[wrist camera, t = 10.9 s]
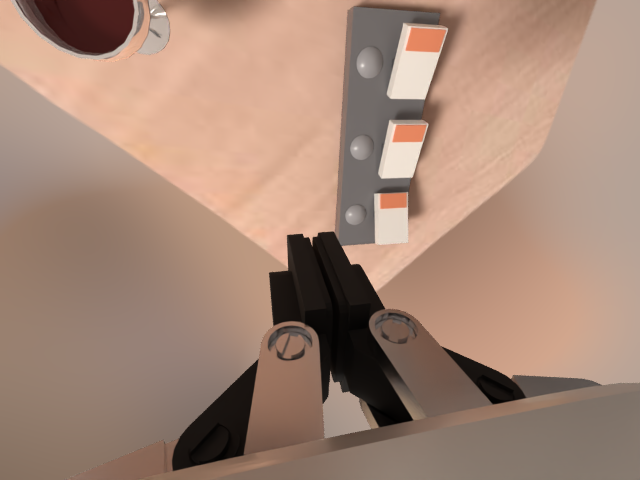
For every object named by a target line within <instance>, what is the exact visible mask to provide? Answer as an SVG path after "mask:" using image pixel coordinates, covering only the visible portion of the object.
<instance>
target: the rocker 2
mask: <svg viewBox="0 0 640 480" xmlns="http://www.w3.org/2000/svg"><path fill="white" fill-rule="evenodd" d="M447 31H448V28H446V27H445V26H443V25H429V24H415V23H403V28H402V32H401V36H400V40H399V44H398V48H397V53H396V57H395V61H394V65H393V69H392V74H391V78H390V82H389V86H388V90H387V95H388V97H389V98H390V99H425V98H426V95H427V92H428V89H429V86H430V83H431V80H432V77H433V74H434V71H435V68H436V65H437V62H438V59H439V56H440V53H441V50H442V47H443V44H444V41H445V38H446V34H447Z"/></svg>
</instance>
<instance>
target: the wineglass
mask: <svg viewBox="0 0 640 480" xmlns="http://www.w3.org/2000/svg"><path fill="white" fill-rule="evenodd" d="M11 2H12V3H13V5H14V7H15V8H16V10H17V12H18V13H19V15H20V17H21V18H22V19H23V20H24V21H25V22H26V23H27V24H28V25H29V26H30V27H31V28H32V30H33V31H34V32H35V33H36V34H37V35H38V36H39V37H41V38H42V39H44V40H45V41H46V42H48V43H49V44H51V45H52V46H54V47H55V48H57V49H58V50H60V51H63V52H65V53H68V54H70V55H73V56H75V57H78V58H84V59H91V60H95V61H105V62H114V61H118V60H122V59H126V58H128V57H130V56H132V55H133V54H134V53H135V52H137V53H140V54H147V55H151V54H155V53H158V52H159V51H161V50H162V49H163V48H164V47H165V45H166V44H167V42H168V40H169V34H170V27H169V21H168V18H167V16H166V13H165V11H164V9H163V8H162V6H161V5H160V4H159V2H158V1H157V0H11Z"/></svg>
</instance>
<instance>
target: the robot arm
mask: <svg viewBox="0 0 640 480" xmlns="http://www.w3.org/2000/svg"><path fill="white" fill-rule="evenodd" d="M287 248H288V271H281V272H270V273H269V277H270V290H271V302H272V315H273V325H274V326H273V327H272V328H271V329H269V330H268V331H267V333H266V334H265V335H264V337H263V340H262V342H261V348H260V354H259V359H258V360H257V361H256V362H255V363H254V364H253V365H252V366H251V367H250V368H249V369H247V370H246V371H245V372H244V373H243V374H242V375H241V376H240V377H239V378H238V379H237V380H236V381H235V382H234V383H233V384H232V385H231V386H230V387H229V388H228V389H227V390H226V391H225V392H224V393H223V394H222V395H221V396H220V397H219V398H218V399H216V400H215V401H214V402H213V403H212V404H211V405H210V406H209V407H208V408H207V409H206V410H205V411H204V412H203V413H202V414H201V415H200V416H199V417H198V418H197V419H196V420H195V421H194V422H193V423H192V424H191V425H190V426H189V427H188V428H187V429H186V430H185V431H184V433H183V434H182V435H181V436H180V438H178V439H176V440H174V441H171V442H169V443H166V444H165V441H164V440H161V441H159V442H156V443H154V444H151V445H149V446H146V447H144V448H141V449H139V450H136V451H134V452H132V453H129V454H126V455H124V456H121V457H119V458H116V459H114V460H111V461H109V462H107V463H104V464H102V465H99V466H97V467H94V468H92V469H89V470H87V471H84V472H82V473H79V474H77V475H74V476H72V477H69V478H67V479H64V480H640V383H618V384H609V385H600V384H598V383H596V382H594V381H590V380H585V379H578V378H559V377H540V376H521V375H519V376H518V375H513V377H512V378H511V379H510V378H508V377H507V376H506V375H504V374H502V373H500V372H498V371H496V370H494V369H492V368H489V367H487V366H485V365H483V364H480V363H478V362H476V361H474V360H471V359H469V358H467V357H464V356H462V355H460V354H458V353H455V352H453V351H451V350H449V349H446V348H444V347H442V346H440V345H439V343H438V342H437V341H436V340H435V339H434V338H433V337H432V336H431V334H430V333H429V332H428V331H427V330H426V329H425V328H424V327H423V326H422V324H421V323H420V322H419V321H418V320H417V319H416V318H414V317H413V316H412V315H410V314H408V313H406V312H404V311H400V310H395V309H385V308H384V306H383V304H382V302H381V300H380V299H379V297H378V295H377V293H376V292H375V290H374V288H373V286H372V285H371V283H370V281H369V279H368V277H367V276H366V274H365V272H364V270H363V269H362V267H361V266H360V265H359V264H353V265H351V264H350V262H349V260H348V258H347V256H346V254H345V252H344V250H343V248H342V246H341V244H340V242H339V241H338V239H337V237H336V235H335V233H334V232H321V233H318V237H313V241H312V245H311V242H310V239H309V237H307V238H304V236H303V234H294V235H287ZM330 371H331V374H332V378H333V381H334V382H340V385H341V389H342V392H348V391H350V393H352V394H353V395H355V396H357V397H358V398H359V402H360V406H361V409H362V411H363V413H364V415H365V417H366V419H367V421H368V423H369V425H370V427H371V429H370V430H365V431H361V432H355V433H350V434H345V435H340V436H336V437H331V438H326V439H325V438H324V421H323V403H324V402H325V400H326V399H327V397H328V393H329V382H330Z"/></svg>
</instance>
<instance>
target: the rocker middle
mask: <svg viewBox="0 0 640 480" xmlns="http://www.w3.org/2000/svg"><path fill="white" fill-rule="evenodd" d="M427 128H428V123H427V122H426V121H424V120H389V125H388V129H387V134H386V139H385V143H384V148H383V153H382V157H381V162H380V167H379V172H378V174H379V176H380V177H381V179H383V178H411V177H413V174H414V171H415V168H416V164H417V161H418V158H419V154H420V151H421V148H422V144H423V141H424V138H425V134H426V131H427Z"/></svg>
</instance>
